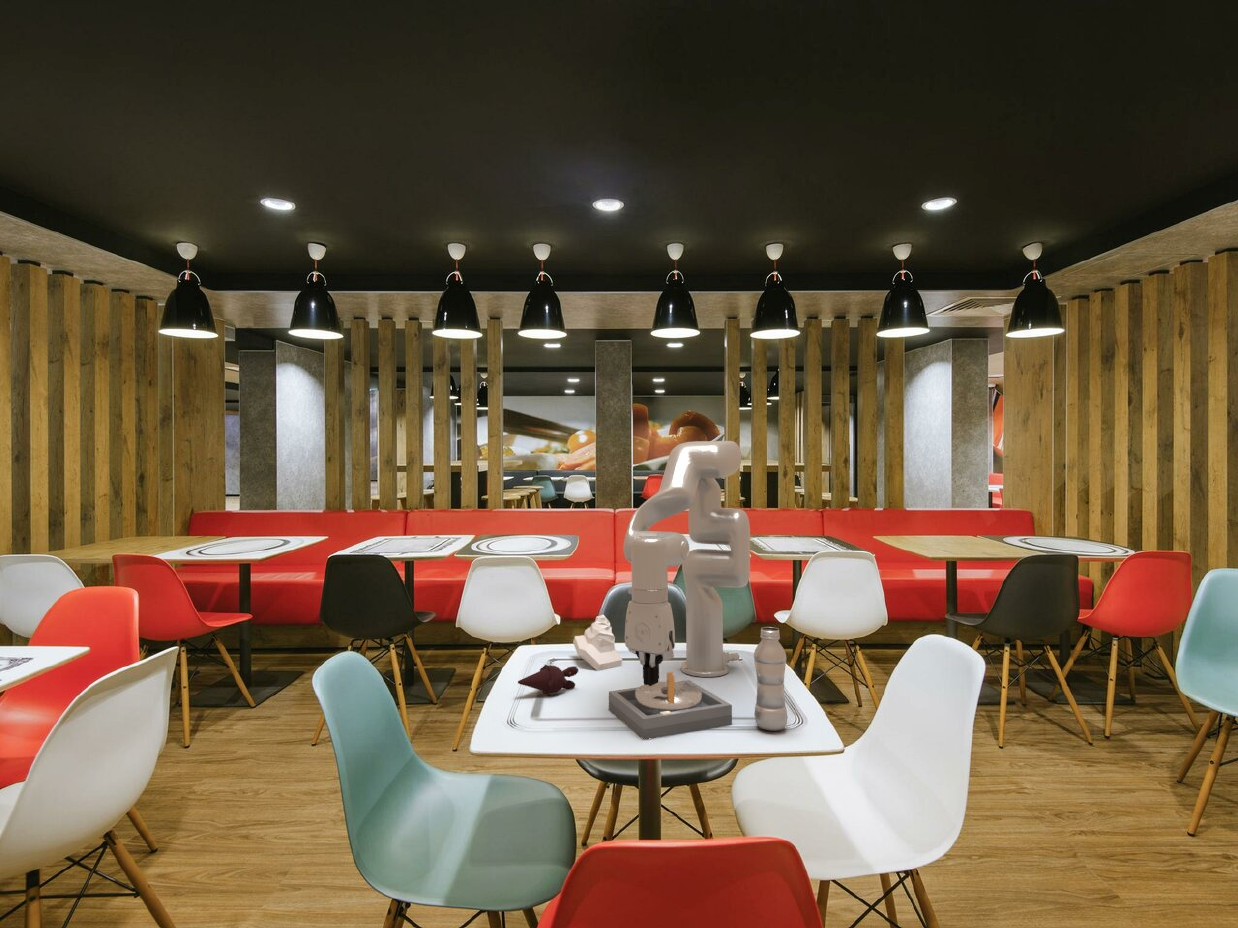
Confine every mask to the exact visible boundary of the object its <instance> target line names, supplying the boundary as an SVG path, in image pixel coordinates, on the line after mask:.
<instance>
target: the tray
mask: <svg viewBox="0 0 1238 928" xmlns="http://www.w3.org/2000/svg"><path fill="white" fill-rule="evenodd" d="M678 682H680V683H686V684H690V685H693V686H695V687H697V688H699V689H700V690H701V692H702V707H698V708H692V709H686V710H680V711H673V712H670V711H664V712H660V714H655V715H646V714H644V713H643V712H642V711H640V710H639V709H638V708H636V707H635V691H636V689H637V688H638V687H639V686H637V687H631V688H625V689H618V690H610V691H608V711H610V713H612V714H613V715H614V717H616V718H618V719H619V720H620V721H621V722H622V723H623V724H624V725H626V726H627V727H628V728H629V729H630V730H632V731H633V733H635V734H636V735H637V736H639V737H640V738H641V737H642V738H643V739H646V740H650V739H649V738H652V739H656V738H657V737H658V738H662V737H668V736H673V735H675V736H676V735H680V734H685V733H691V732H697V731H702V730H708V729H713V728H719V727H725V726H731V725H733V705H732V704H731V703H730V702H727V701H726V700H724V699H722V698H721V697H719V696H717V694H716V695H715V694H714V693H712V692H710V691H709V690H707V689H705V688H704V687H702V686H700V685H698V684H697V683H695V682H694V681H692V680H689V679H687V680H681V681H678ZM642 738H641V739H642ZM658 738H657V739H658ZM643 739H642V740H643Z"/></svg>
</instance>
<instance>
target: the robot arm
mask: <svg viewBox="0 0 1238 928" xmlns="http://www.w3.org/2000/svg"><path fill="white" fill-rule="evenodd" d="M741 464H742V451H741V448H740V447H739V444H737V442H736V441H733V440H714V441H713V440H708V441H707V440H706V441H705V440H704V441H703V440H702V441H698V440H697V441H696V440H695V441H694V440H693V441H686V442H683V443H679V444H677V445H676V446H675V447H674V448H672V450H671V451H670V453H669V455H668V459H667V462H666V466H665V469H664V473H663V476H662V479H661V482H660V487H659V490H658V492H656V493H655V494H653V495H652V496H651V497H649V498H648V499H647V500H646V501H644V502H643V503H642V504H641V505H640V506H639V507H638V508H637V509H636V510H635V512H633V514H632V516H631V517H630V520H629V524H628V526H627V529H626V532H625V535H624V540H623V541H624V542H623V547H622V548H623V554H624V558H625V560H626V561H627V562H628V563H630V564H631V566H630V567H631V587H629V588H628V590H627V593H628V595H631V600H629V601H628V603H627V609H626V614H625V622H624V623H625V624H624V645H625V647H626V648H627V649H628V651H629V652H630V653H631V654H634V655H635V656H636V657H637V658H638V660H639V664H640V665H641V666H642V679H643V685H648V686H652V685H654V684H656V683H658V682H660V681H659V680H660V664H662V662H663V661H668V660H672V659H673V658H674V657H675V655H674V649H675V647H676V635H675V633H676V631H675V620H674V615H673V614H674V613H673V610H672V604H671V603H670V602H669V585H668V583H669V582H668V579H669V578H668V576H669V575H668V570H669V569H668V568H676V567H679V566H681V567H682V574H683V580H684V588H685V610H686V611H685V612H686V613H685V621H686V622H685V623H686V626H685V629H686V630H685V632H686V634H685V637H686V643H685V644H686V646H685V647H686V653H685V654H686V659H685V661H683V662H682V663H681V664H680V671H681V672H682V673H684V674H686V675H689V676H694V677H699V678H700V677H701V678H711V677H712V678H713V677H714V678H715V677H720V676H724V675H726V674H728V673H729V672H730V667H729V666H730V665H728V663H729V662H735V661H736V662H737V661H739V660H740V655H739V653H738V652H734V653H730V652H725V651H724V638H723V637H724V634H723V633H724V629H723V628H724V625H723V622H724V621H723V620H724V618H723V617H724V616H723V615H724V614H723V612H724V611H723V609H724V608H723V601H722V599H721V597H720V595H719V593H718V592H717V590H716V589H715V588H716V587H717V588H732V589H740V588H741V589H742V588H744V587H746V586H747V584H748V583H749V581H750V574H751V527H750V519H749V517H748V514H747V512H746V511H745V510H743V509H740V508H732V507H731V508H730V507H728V508H727V507H722V489H721V487H720V484H719V483H718V481H717V480H716V479H725V478H728V477H730V476H732V475H735V474H736V473H738V471H739V469H740V467H741ZM687 510H688V535H689V538H690V540H691V541H692V542H694V543H697V544H703V545H717V546H718V545H720V546H722V545H723V546H728V547H729V548H730V550H727V549H709V548H708V549H707V548H697V549H692V550H690V544H689V541H688V539H687V538H686V536H684V534H682V533H680V532H674V531H659V530H658V531H656V530H655V531H654V530H653V531H652V530H650V528H651V527H653V526H654V525H655V524H657V523H660V521H663V520H665V519H668V518H671V517H673V516H676V515H678V514H680V513H683V512H685V511H687Z"/></svg>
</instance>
